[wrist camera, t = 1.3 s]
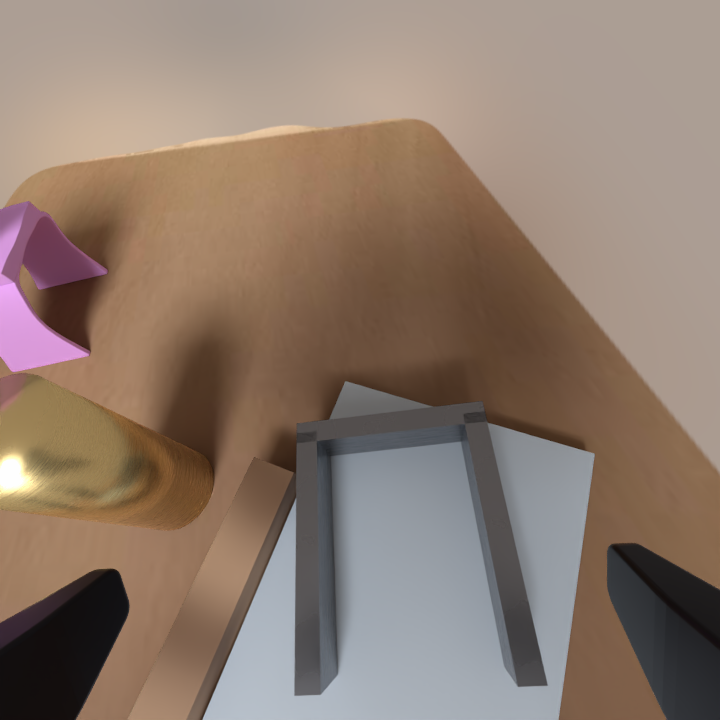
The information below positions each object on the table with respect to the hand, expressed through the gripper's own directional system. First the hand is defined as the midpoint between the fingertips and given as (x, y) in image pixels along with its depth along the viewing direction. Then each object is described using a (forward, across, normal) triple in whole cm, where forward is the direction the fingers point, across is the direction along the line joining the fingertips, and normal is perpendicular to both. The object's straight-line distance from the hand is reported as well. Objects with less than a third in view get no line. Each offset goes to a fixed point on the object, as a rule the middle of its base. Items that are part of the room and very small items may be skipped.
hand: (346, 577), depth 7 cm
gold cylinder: (+14, +13, +6) cm, 20 cm away
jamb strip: (+9, +9, +11) cm, 17 cm away
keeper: (+10, 0, +8) cm, 13 cm away
